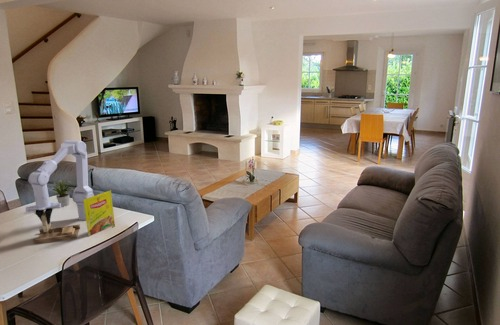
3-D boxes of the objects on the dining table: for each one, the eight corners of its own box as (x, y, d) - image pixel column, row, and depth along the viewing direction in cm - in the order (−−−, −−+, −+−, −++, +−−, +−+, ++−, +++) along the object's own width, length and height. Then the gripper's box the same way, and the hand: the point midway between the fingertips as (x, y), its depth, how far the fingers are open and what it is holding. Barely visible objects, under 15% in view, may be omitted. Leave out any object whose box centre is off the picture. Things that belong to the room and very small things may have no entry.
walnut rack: (80, 229, 180) (79, 224, 179) (76, 240, 169) (75, 234, 168) (41, 234, 175) (39, 229, 174) (34, 246, 164) (33, 240, 163)
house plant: (64, 211, 204) (60, 184, 200) (44, 209, 207) (40, 183, 203) (81, 202, 217) (78, 177, 213) (62, 200, 220) (58, 175, 216)
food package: (89, 238, 171) (83, 199, 165) (88, 238, 171) (82, 199, 166) (115, 226, 183) (111, 190, 178) (114, 226, 184) (109, 189, 179)
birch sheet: (51, 225, 173) (48, 210, 171) (47, 231, 166) (44, 216, 164) (47, 225, 173) (44, 210, 170) (43, 232, 166) (41, 216, 164)
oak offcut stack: (75, 230, 177) (74, 225, 177) (72, 237, 170) (71, 232, 169) (63, 231, 176) (63, 227, 175) (60, 238, 168) (59, 234, 168)
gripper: (21, 201, 160) (26, 229, 163) (57, 197, 164) (61, 224, 167) (26, 196, 166) (31, 222, 170) (60, 193, 170) (64, 218, 174)
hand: (46, 223), depth 169 cm, fingers closed on birch sheet, 1 cm apart
